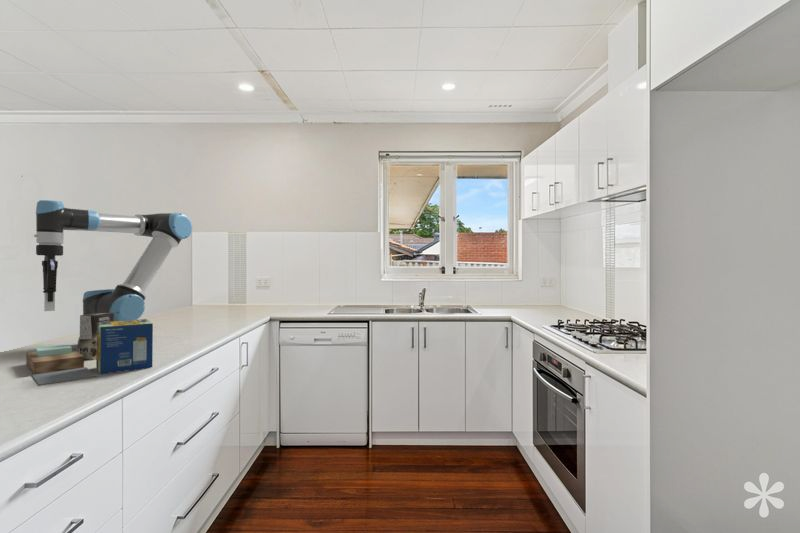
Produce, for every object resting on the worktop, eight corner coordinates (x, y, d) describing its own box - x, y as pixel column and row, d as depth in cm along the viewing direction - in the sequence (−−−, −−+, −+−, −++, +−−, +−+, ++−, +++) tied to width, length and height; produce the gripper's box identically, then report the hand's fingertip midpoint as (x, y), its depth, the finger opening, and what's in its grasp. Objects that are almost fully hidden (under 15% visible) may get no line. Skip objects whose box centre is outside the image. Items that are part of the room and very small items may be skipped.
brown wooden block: (72, 358, 160) (72, 347, 160) (83, 368, 147) (83, 356, 147) (26, 364, 150) (26, 352, 150) (33, 375, 138) (33, 362, 138)
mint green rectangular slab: (68, 350, 156) (68, 344, 155) (71, 353, 151) (71, 347, 151) (35, 353, 149) (35, 348, 149) (38, 357, 145) (38, 351, 145)
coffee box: (93, 360, 158) (93, 315, 158) (78, 358, 160) (78, 314, 159) (114, 354, 167) (114, 312, 167) (100, 353, 169) (100, 311, 168)
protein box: (95, 367, 148) (95, 322, 148) (147, 361, 158) (147, 318, 158) (99, 374, 140) (99, 326, 140) (153, 367, 150) (153, 322, 150)
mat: (85, 368, 147) (85, 367, 147) (96, 376, 138) (96, 375, 138) (32, 375, 137) (32, 374, 137) (38, 385, 128) (38, 384, 128)
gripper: (33, 244, 157) (33, 309, 157) (39, 243, 148) (38, 313, 148) (59, 244, 162) (59, 308, 162) (66, 244, 153) (66, 311, 153)
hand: (49, 310), depth 155 cm, fingers closed
